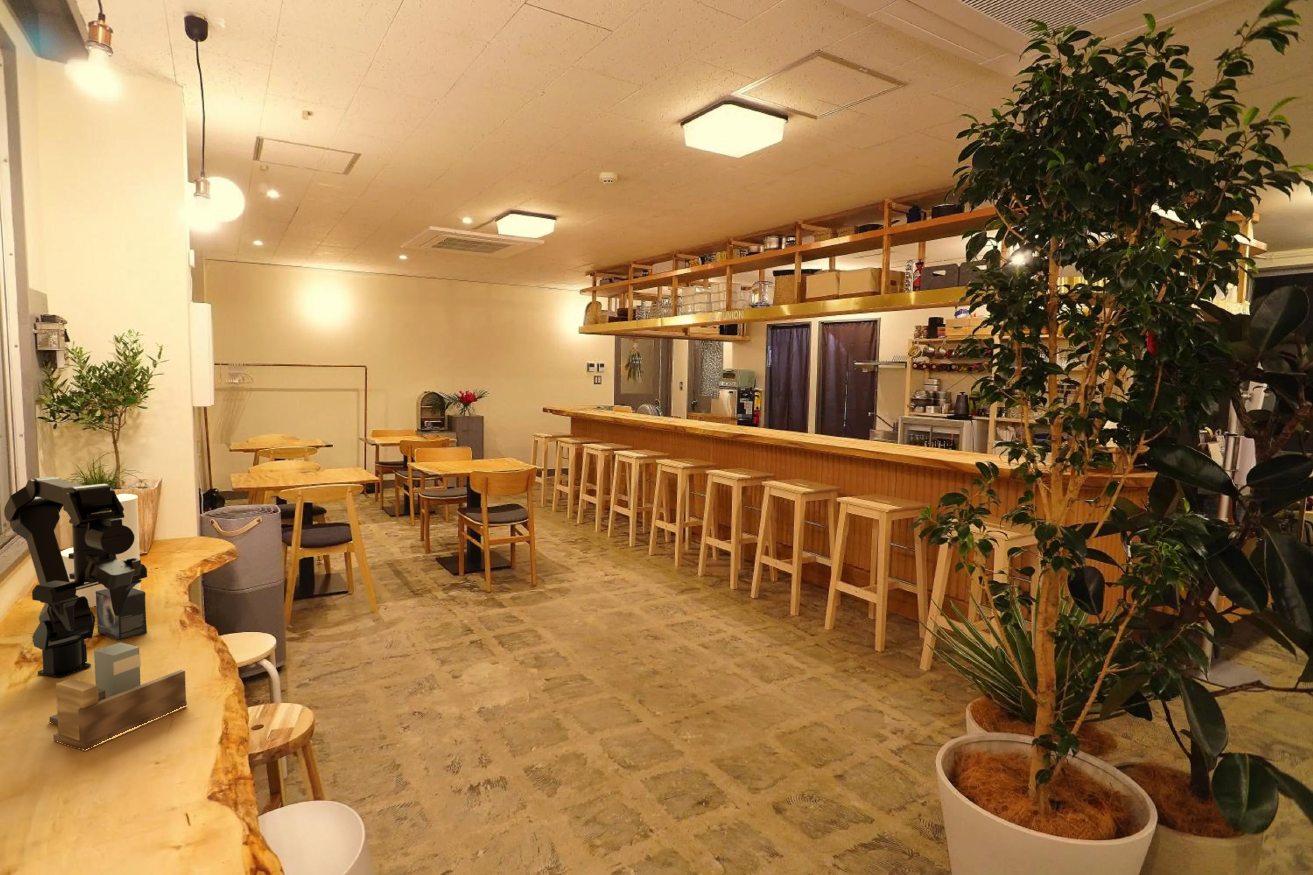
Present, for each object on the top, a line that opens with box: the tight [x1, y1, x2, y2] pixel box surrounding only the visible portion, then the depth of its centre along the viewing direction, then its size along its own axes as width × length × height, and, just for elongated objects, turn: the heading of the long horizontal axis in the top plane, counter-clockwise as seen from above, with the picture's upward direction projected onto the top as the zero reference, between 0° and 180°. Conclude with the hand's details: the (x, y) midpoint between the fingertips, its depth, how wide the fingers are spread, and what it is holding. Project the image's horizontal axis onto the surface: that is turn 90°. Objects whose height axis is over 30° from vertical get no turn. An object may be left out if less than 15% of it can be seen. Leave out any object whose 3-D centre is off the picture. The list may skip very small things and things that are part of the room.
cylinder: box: [60, 493, 142, 608], centre depth 194 cm, size 17×17×28 cm
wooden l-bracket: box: [49, 669, 188, 750], centre depth 128 cm, size 18×16×10 cm
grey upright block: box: [93, 641, 142, 698], centre depth 131 cm, size 5×6×11 cm
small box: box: [95, 588, 148, 641], centre depth 170 cm, size 11×6×10 cm, turn 62°
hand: (94, 622), depth 141 cm, fingers open, 9 cm apart
